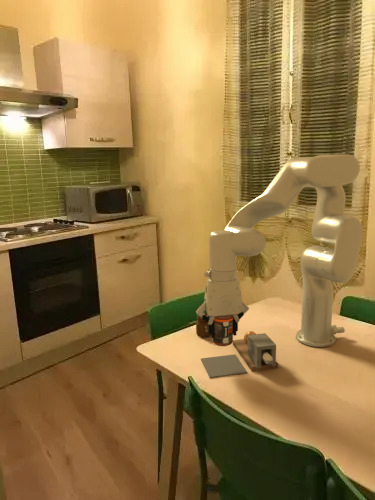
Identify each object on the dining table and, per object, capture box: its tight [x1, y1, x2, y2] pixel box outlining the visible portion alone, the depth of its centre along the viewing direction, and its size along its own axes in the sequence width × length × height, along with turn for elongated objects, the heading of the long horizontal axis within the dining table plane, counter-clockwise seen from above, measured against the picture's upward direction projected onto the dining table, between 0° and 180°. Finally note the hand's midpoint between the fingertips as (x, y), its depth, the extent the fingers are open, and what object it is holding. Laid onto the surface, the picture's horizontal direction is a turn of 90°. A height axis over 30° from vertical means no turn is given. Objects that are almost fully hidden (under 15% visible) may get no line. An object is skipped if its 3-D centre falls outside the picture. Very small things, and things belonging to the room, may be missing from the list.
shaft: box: [243, 330, 273, 365], centre depth 117 cm, size 15×4×4 cm, turn 11°
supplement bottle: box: [211, 315, 234, 347], centre depth 113 cm, size 6×6×11 cm
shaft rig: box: [232, 332, 279, 373], centre depth 121 cm, size 19×8×8 cm, turn 11°
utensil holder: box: [195, 310, 211, 338], centre depth 137 cm, size 6×6×12 cm
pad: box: [200, 354, 248, 379], centre depth 116 cm, size 11×11×1 cm
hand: (222, 334), depth 114 cm, fingers closed on supplement bottle, 6 cm apart
